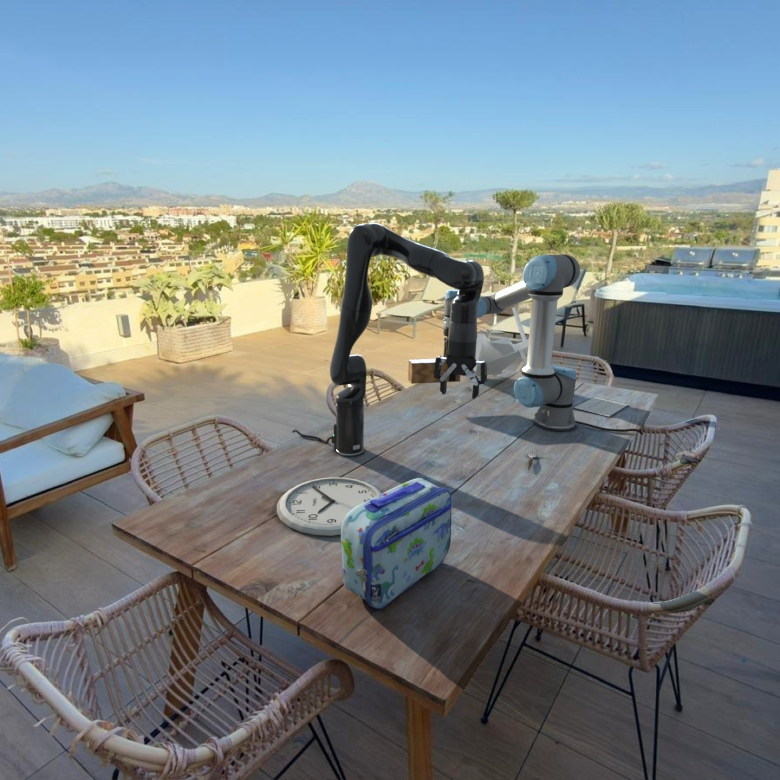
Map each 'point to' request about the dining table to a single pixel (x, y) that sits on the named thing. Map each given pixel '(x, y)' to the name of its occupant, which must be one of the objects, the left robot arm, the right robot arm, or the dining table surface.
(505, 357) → the white plastic object
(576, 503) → the dining table surface
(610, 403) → the invitation card
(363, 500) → the wall clock
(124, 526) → the dining table surface
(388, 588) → the lunch box
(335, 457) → the dining table surface
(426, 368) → the box
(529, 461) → the fork
